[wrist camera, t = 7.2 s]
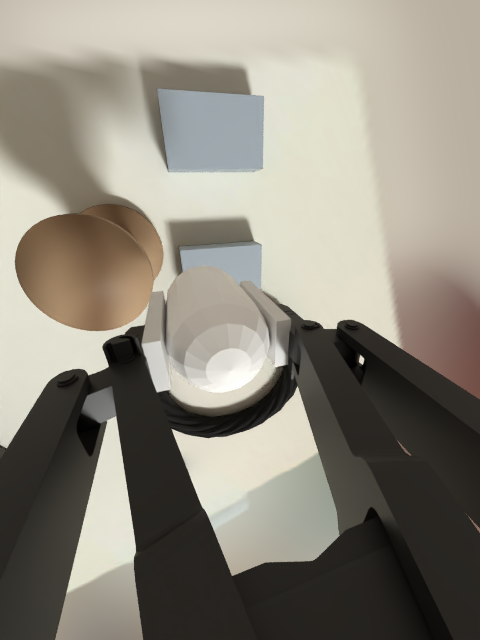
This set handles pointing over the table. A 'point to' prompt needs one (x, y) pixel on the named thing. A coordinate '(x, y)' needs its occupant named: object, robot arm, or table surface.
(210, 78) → the table surface
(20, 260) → the knob
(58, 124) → the table surface
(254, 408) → the cable lock
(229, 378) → the capsule
